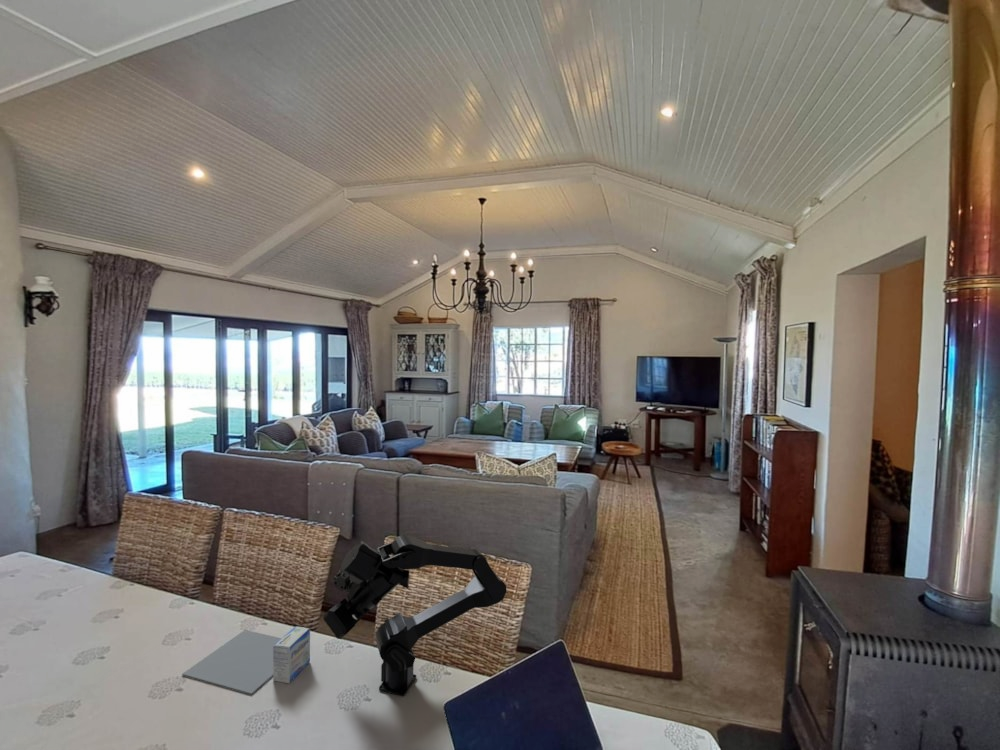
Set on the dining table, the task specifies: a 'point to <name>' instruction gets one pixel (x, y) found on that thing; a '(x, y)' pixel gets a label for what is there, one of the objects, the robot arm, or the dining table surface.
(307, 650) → the medicine box
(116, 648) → the dining table surface
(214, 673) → the mat
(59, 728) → the dining table surface
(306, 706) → the dining table surface
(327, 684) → the dining table surface
